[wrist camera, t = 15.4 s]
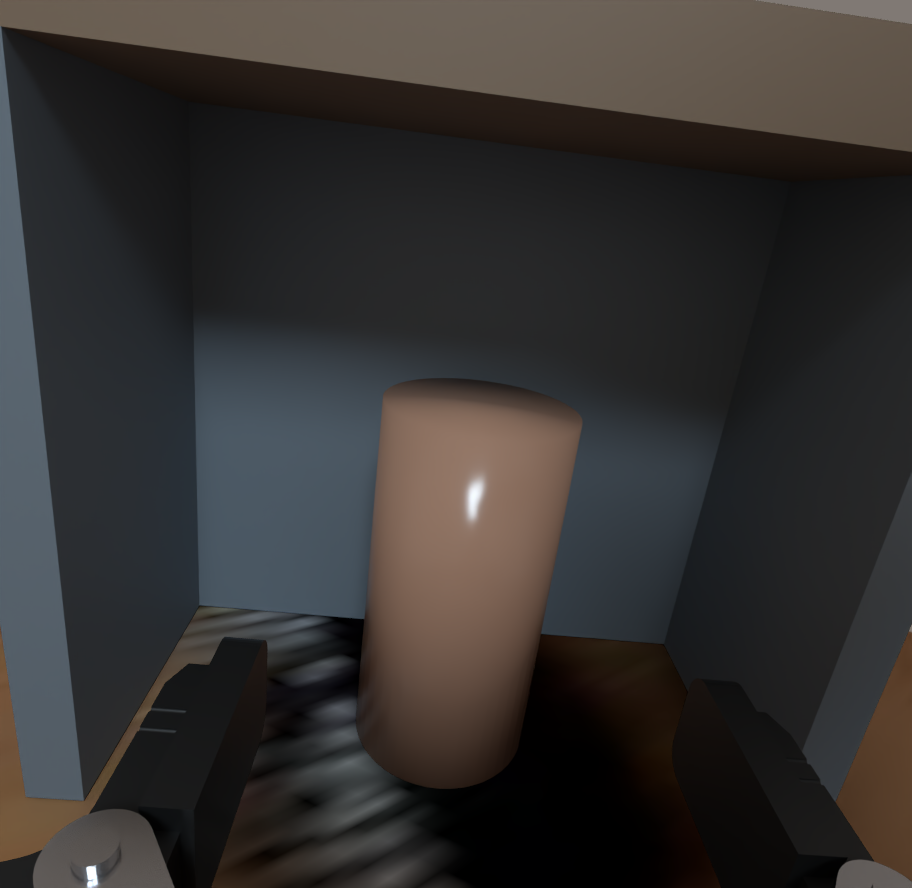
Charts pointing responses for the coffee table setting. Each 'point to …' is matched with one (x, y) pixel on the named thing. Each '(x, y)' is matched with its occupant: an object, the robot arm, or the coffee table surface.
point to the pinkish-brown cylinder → (459, 573)
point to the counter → (453, 326)
